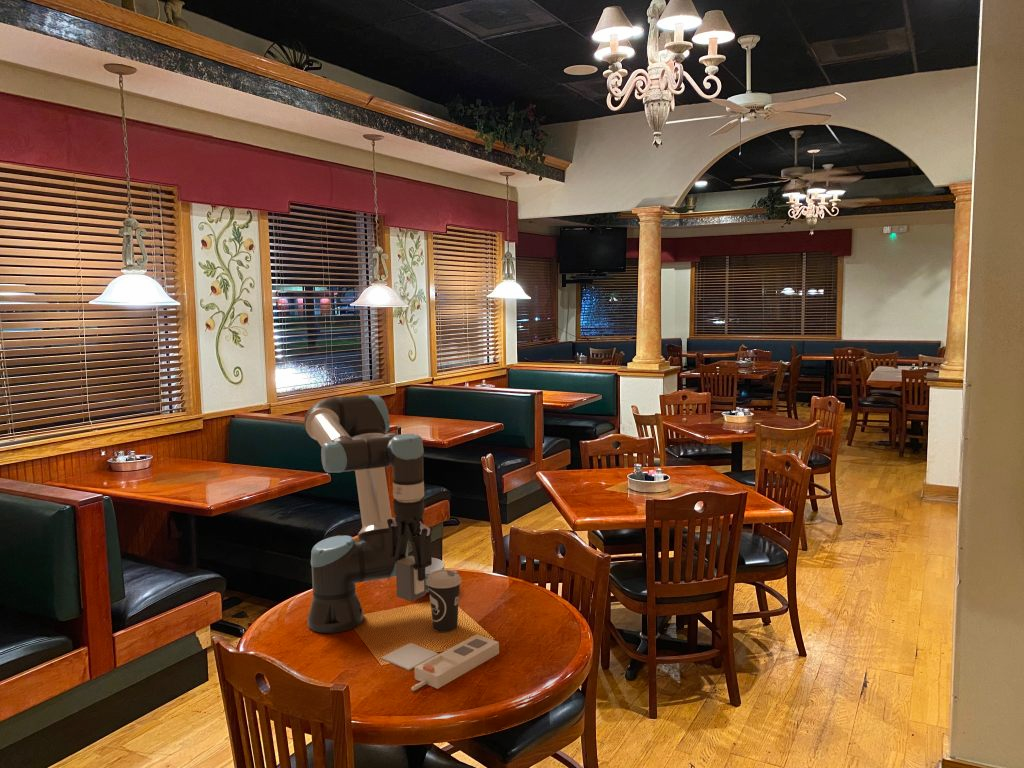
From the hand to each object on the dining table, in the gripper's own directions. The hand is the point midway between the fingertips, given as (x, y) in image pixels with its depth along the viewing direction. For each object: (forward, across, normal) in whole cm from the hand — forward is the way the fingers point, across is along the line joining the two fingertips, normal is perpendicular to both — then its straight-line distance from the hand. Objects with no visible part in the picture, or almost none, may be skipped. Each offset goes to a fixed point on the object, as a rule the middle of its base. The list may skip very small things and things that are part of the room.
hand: (411, 589), depth 189 cm
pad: (+18, -1, 0) cm, 18 cm away
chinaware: (+19, -30, +33) cm, 49 cm away
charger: (+2, 0, 0) cm, 2 cm away
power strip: (+18, +12, +1) cm, 22 cm away
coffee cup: (+19, -6, +18) cm, 26 cm away
